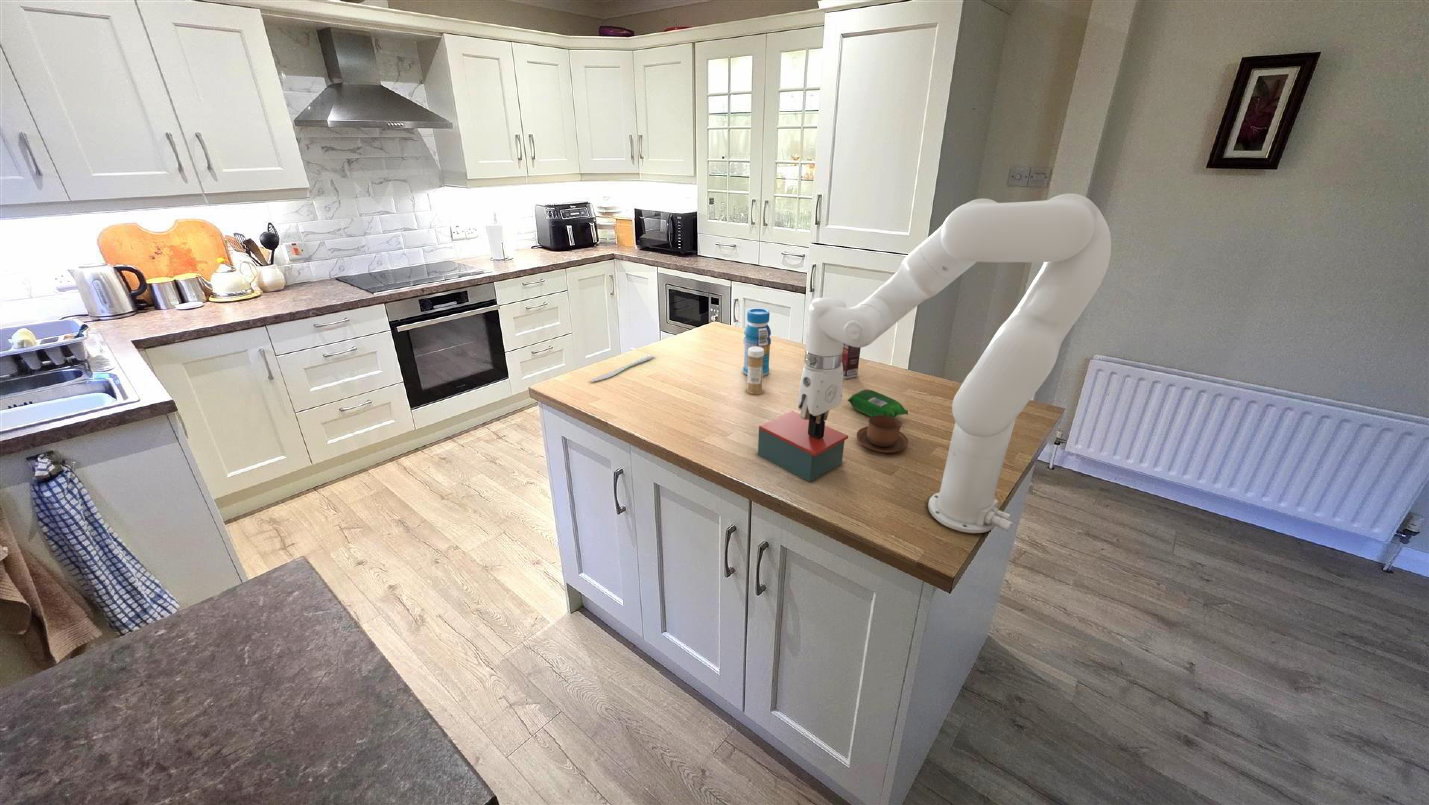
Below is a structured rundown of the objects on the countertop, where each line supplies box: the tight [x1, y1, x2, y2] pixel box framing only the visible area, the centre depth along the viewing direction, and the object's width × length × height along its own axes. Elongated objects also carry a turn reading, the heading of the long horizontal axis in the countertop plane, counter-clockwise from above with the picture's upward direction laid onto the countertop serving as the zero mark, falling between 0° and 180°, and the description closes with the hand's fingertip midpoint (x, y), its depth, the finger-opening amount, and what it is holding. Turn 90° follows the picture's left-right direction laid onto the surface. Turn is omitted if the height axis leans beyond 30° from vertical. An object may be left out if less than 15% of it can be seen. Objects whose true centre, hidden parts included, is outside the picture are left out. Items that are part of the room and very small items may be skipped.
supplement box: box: [841, 343, 862, 380], centre depth 170 cm, size 9×5×16 cm, turn 25°
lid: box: [758, 410, 849, 456], centre depth 124 cm, size 16×12×1 cm
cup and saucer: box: [856, 415, 909, 454], centre depth 132 cm, size 12×12×6 cm
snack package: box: [847, 388, 909, 419], centre depth 147 cm, size 7×16×5 cm, turn 35°
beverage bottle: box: [742, 307, 772, 377], centre depth 170 cm, size 8×8×20 cm
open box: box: [757, 428, 846, 483], centre depth 126 cm, size 16×12×7 cm
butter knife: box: [590, 355, 654, 383], centre depth 176 cm, size 1×27×3 cm
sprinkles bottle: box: [746, 346, 764, 395], centre depth 158 cm, size 5×5×13 cm
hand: (815, 435), depth 121 cm, fingers closed
